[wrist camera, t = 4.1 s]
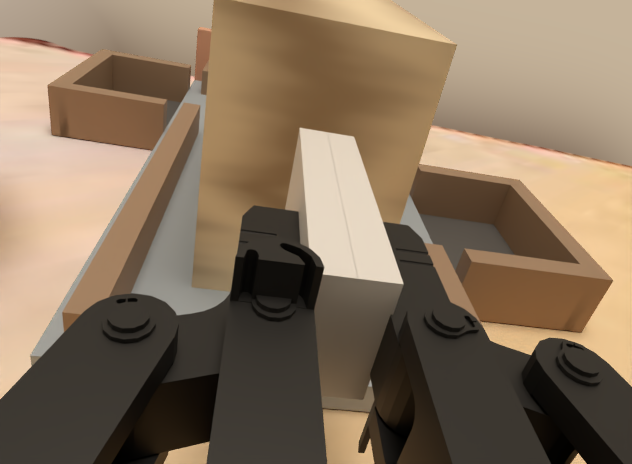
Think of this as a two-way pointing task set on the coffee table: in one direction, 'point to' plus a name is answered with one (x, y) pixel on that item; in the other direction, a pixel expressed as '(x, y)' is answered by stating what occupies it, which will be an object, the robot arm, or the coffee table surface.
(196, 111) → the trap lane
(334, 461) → the coffee table surface
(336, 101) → the maple block
